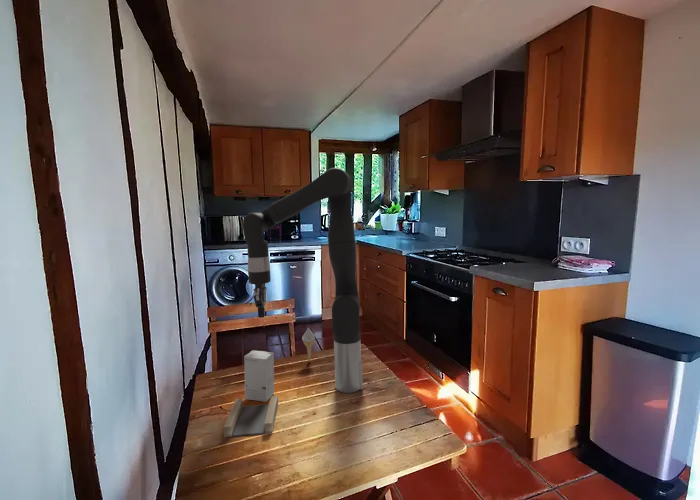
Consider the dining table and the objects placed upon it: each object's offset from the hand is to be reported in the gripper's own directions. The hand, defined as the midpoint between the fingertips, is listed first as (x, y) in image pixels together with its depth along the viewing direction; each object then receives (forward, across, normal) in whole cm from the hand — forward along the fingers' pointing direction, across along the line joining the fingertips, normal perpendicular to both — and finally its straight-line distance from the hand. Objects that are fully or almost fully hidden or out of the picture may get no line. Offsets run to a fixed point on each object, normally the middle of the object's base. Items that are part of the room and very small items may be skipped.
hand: (261, 316), depth 118 cm
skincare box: (+25, -10, 0) cm, 27 cm away
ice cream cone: (+25, +14, -16) cm, 33 cm away
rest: (+24, -23, 0) cm, 34 cm away
